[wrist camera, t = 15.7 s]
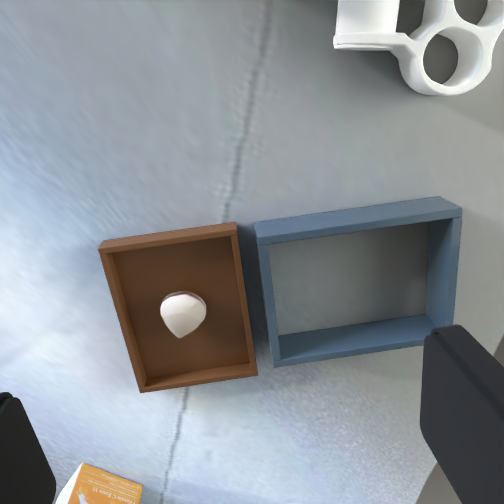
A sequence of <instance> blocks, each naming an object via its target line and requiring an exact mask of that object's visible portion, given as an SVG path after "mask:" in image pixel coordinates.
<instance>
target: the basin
mask: <svg viewBox="0 0 504 504" xmlns="http://www.w3.org/2000/svg"><path fill="white" fill-rule="evenodd" d="M462 210H463V209H462V208H461V207H459V206H457V205H455V204H453V203H451V202H449V201H447V200H445V199H443V198H441V197H439V196H438V197H431V198H424V199H417V200H410V201H403V202H396V203H389V204H381V205H374V206H367V207H360V208H353V209H346V210H339V211H332V212H325V213H318V214H311V215H304V216H297V217H289V218H282V219H275V220H268V221H261V222H254V230H255V239H256V247H257V255H258V263H259V271H260V278H261V286H262V294H263V302H264V310H265V318H266V326H267V334H268V342H269V347H270V352H271V357H272V362H273V367H274V368H275V367H281V366H288V365H294V364H301V363H308V362H314V361H321V360H328V359H334V358H341V357H348V356H354V355H361V354H367V353H374V352H381V351H387V350H394V349H401V348H407V347H414V346H421V345H424V339H425V337H426V336H427V335H431V331H432V329H433V328H437V327H443V326H450V325H453V318H454V306H455V294H456V283H457V271H458V259H459V248H460V236H461V224H462ZM428 221H430V230H429V249H428V267H427V286H426V305H425V314H423V315H416V316H410V317H403V318H396V319H390V320H383V321H376V322H369V323H363V324H356V325H349V326H343V327H336V328H329V329H322V330H316V331H309V332H302V333H296V334H289V335H282V336H278V330H277V322H276V313H275V304H274V295H273V287H272V278H271V269H270V261H269V252H268V244H274V243H281V242H288V241H295V240H302V239H309V238H316V237H323V236H330V235H337V234H344V233H351V232H358V231H365V230H372V229H379V228H386V227H393V226H400V225H407V224H414V223H421V222H428Z"/></svg>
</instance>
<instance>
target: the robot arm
mask: <svg viewBox="0 0 504 504" xmlns="http://www.w3.org/2000/svg"><path fill="white" fill-rule="evenodd" d="M420 428H421V431H422V434H423V437H424V439H425V441H426V442H427V444H428V446H429V448H430V449H431V451H432V453H433V454H434V456H435V458H436V460H437V461H438V463H439V465H440V466H441V468H442V470H443V471H444V473H445V475H446V477H447V478H448V480H449V482H450V483H451V485H452V487H453V489H454V490H455V492H456V494H457V496H458V497H459V499H460V501H461V502H462V504H504V367H503V366H502V365H501V364H500V363H499V362H498V361H497V360H496V359H495V358H494V357H493V356H492V355H491V354H490V353H489V352H488V351H487V350H486V349H485V348H484V347H483V346H482V345H481V344H480V343H479V342H478V341H477V340H476V339H475V338H474V337H473V336H472V335H471V334H470V333H469V332H468V331H467V330H466V329H464V328H463V327H462V326H461V325H450V326H443V327H437V328H433V329H432V331H431V335H427V336H426V337H425V339H424V353H423V371H422V390H421V409H420ZM55 493H56V480H55V477H54V475H53V473H52V470H51V468H50V466H49V464H48V461H47V459H46V457H45V455H44V452H43V450H42V448H41V446H40V443H39V441H38V439H37V437H36V434H35V432H34V430H33V428H32V425H31V423H30V421H29V419H28V416H27V414H26V412H25V410H24V407H23V405H22V403H21V401H20V399H18V398H16V397H13V396H12V394H10V393H9V392H3V393H0V504H52V502H53V500H54V497H55Z"/></svg>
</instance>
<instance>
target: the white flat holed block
mask: <svg viewBox="0 0 504 504" xmlns="http://www.w3.org/2000/svg"><path fill="white" fill-rule="evenodd" d="M399 2H400V0H338V10H337V22H336V34H335V36H334V40H333V45H334V49H339V50H361V51H379V50H389V51H390V52H391V53H392V54H393V55H395V56H396V57H397V58H398V60H399V68H400V72H401V74H402V77H403V79H404V80H405V82H406V83H407V84H408V86H409V87H411V88H412V89H413V90H415V91H416V92H418V93H421V94H425V95H436V96H455V95H459V94H462V93H465V92H467V91H469V90H471V89H472V88H474V87H475V86H476V85H478V84H479V83H480V82H481V81H482V80H483V79H484V78H485V77H486V75H487V74H488V73H489V71H490V69H491V57H492V51H493V48H494V45H495V42H496V40H497V38H498V36H499V34H500V33H501V31H502V30H503V28H504V0H488V2H487V8H486V11H485V13H484V15H483V17H482V19H481V20H480V21H479V23H478V24H477V25H473V24H471V23H469V22H466V21H464V20H463V19H462V18H461V17H460V16H459V15H458V14H457V12H456V10H455V6H454V0H425V6H424V12H423V19H422V23H421V25H420V26H419V28H417V29H416V30H414V31H413V32H412V33H411V34H410V35H409V36H407V35H406V34H405V33H395V32H396V25H397V17H398V10H399ZM435 34H439V35H442V36H444V37H447V38H449V39H450V40H452V41H453V43H454V44H455V46H456V48H457V51H458V64H457V67H456V70H455V72H454V73H453V75H452V76H451V77H450V79H449V80H448V81H446V82H445V83H443V84H439V83H436V82H434V81H432V80H431V79H430V78H429V77H428V76H427V75H426V73H425V71H424V67H423V55H424V51H425V48H426V46H427V44H428V42H429V41H430V40H431V38H432V37H433V36H434V35H435Z"/></svg>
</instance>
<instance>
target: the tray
mask: <svg viewBox="0 0 504 504" xmlns="http://www.w3.org/2000/svg"><path fill="white" fill-rule="evenodd" d="M98 251H99V254H100V258H101V261H102V264H103V268H104V271H105V275H106V278H107V281H108V285H109V288H110V292H111V295H112V299H113V302H114V305H115V309H116V312H117V316H118V319H119V322H120V326H121V329H122V333H123V336H124V339H125V343H126V346H127V350H128V353H129V357H130V360H131V363H132V367H133V370H134V374H135V377H136V380H137V384H138V387H139V391H140V393H145V392H152V391H159V390H165V389H172V388H178V387H185V386H192V385H198V384H205V383H211V382H218V381H225V380H231V379H238V378H245V377H251V376H258V372H257V365H256V358H255V351H254V344H253V337H252V331H251V324H250V317H249V310H248V303H247V296H246V289H245V282H244V275H243V268H242V261H241V254H240V247H239V241H238V234H237V227H236V222H231V223H224V224H217V225H210V226H203V227H196V228H189V229H181V230H174V231H167V232H160V233H153V234H146V235H139V236H132V237H125V238H118V239H111V240H104V241H103V242H102V244H101V245H100V246H99V248H98ZM178 291H188V292H191V293H194V294H196V295H198V296H199V297H200V298H202V299H203V301H204V303H205V305H206V316H205V318H204V320H203V321H202V322H201V323H200V325H199V326H198V327H197V328H196V329H195V330H194V331H192V332H190V333H189V334H187V335H185V336H184V337H182V338H178V337H176V336H175V334H173V333H172V332H171V331H170V329H169V328H168V327H167V326H166V324H165V322H164V320H163V318H162V316H161V310H160V308H161V304H162V301H163V300H164V298H165V297H166V296H167V295H169V294H171V293H174V292H178Z"/></svg>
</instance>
